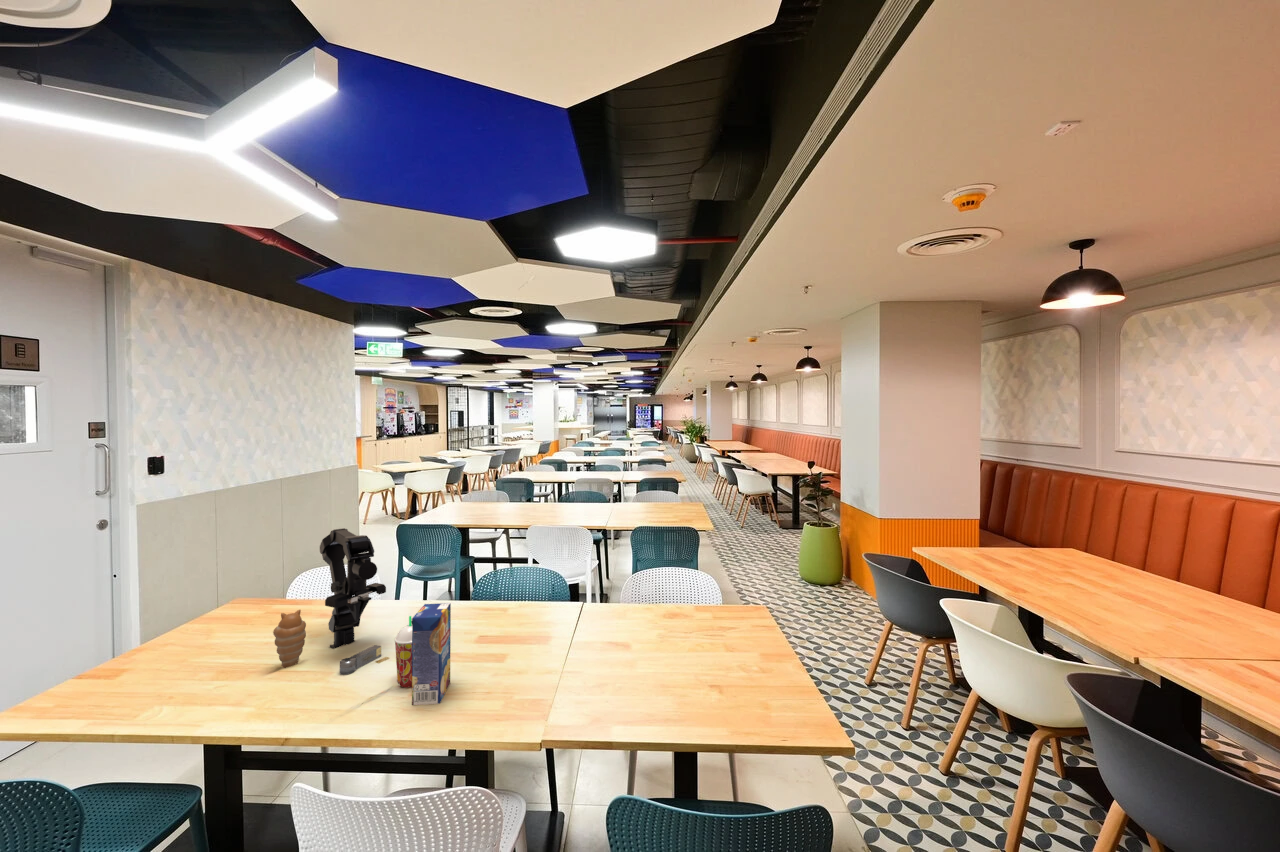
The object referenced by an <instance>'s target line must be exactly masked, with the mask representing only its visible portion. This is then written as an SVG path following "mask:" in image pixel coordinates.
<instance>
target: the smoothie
mask: <svg viewBox="0 0 1280 852" xmlns="http://www.w3.org/2000/svg"><path fill="white" fill-rule="evenodd" d="M411 619H412V615H408V625H406V626H404V627H402V628H401V629H400V630H399V631H398V632H397V635H396V637H395V638H394V643H395V644H394V645H395V660H396V665H395V666H396V678H397V683H398V684H399V687H401V688H412V623H411Z"/></svg>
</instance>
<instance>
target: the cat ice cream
mask: <svg viewBox="0 0 1280 852" xmlns="http://www.w3.org/2000/svg"><path fill="white" fill-rule="evenodd" d="M301 611H302V610H301V609H298V610H296V611H294V612H291V613H288V614H287V613H284V612H281V613H280V617H281V618H280V621H279V622H278V625H277V626H276V627H275V628H274V629H273V631H272V633H273V636H274V645H275V646H276V653H277V654H278V660H279V661H280V662H281V666H282V667H283V668H285V669H287V668H290V667H293V666H296V665H298V663H299V660H300V656H301V655H302V653H303V650H304V647H305V641H306V640H305V638H306V636H307V632H306V627H307V623H306V621H305V620H303V619H302V617H301V613H302V612H301Z"/></svg>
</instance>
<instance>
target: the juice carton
mask: <svg viewBox="0 0 1280 852" xmlns="http://www.w3.org/2000/svg"><path fill="white" fill-rule="evenodd" d="M451 607H452V605H451V602H446V603H445V602H444V603H424V604H423V606H422V607H421V608H420V609H419V610H418V611H417V612H416V613H415V614H414V615H413V617H411V619H412V623H411V625H412V687H411V706H419V705H420V706H421V705H439V704H441V702H442V700H443V698H444V696H445V695H446V692H447V691H448V688H449V687H450V685H451V635H452V634H451V633H452V632H451V629H452V626H451V624H452V623H451V621H452V620H451V617H452V616H451V612H452V611H451V610H452V609H451Z"/></svg>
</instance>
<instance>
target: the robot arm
mask: <svg viewBox="0 0 1280 852" xmlns="http://www.w3.org/2000/svg"><path fill="white" fill-rule="evenodd" d="M319 553H320V555H322V556H321V557H322V560H323V561H324V562H325V563H326V564H327V565H328V566H329V570H330V576H331V583H330V592H331V593H333V594H334V595H330V596H327V597H326V599H325V601H324V606H326V607H329V608H333V609H332V611H331V616H330V619H329V621H328V623H327V624H328V625H327V626H328V630H329V631H330V632H331V633H332V634H333V644H330V645H329V648H332V649H338V648H341V647H343V646H346V645H350V644H353V643H355V628H356V627H357V628H358V627H359V626H360V623H361V616H362V614H363V613H364V610H365V608H366V607H367V605H368V604H369V602H370V601H371V600H372V597H371V596H369V595H370V594H374V593H376V594H377V595H382V594H386V593H387V587H386V586H387V585H385V584H384V583H378V582H374V583H370V584H367V581H368V580H371V579H373V578H375V576H376V575H377V572H378V567H377V564H375V562H373V561H372V557H373V558H374V557H375V554H374V553H375V549H374V546H373V543H372V541H371V539H370V538H369V536H368V535H365V534H362V535H360V534H359V535H356V534H354V533H352V532H351V531H349V530H348V529H347V528H336V529H333V530H331V531H330V533H329V534H328V535H326V536H325V537H323V538H322V540H321V542H320V544H319ZM345 557H346V561H347V562H346V563H347V565H346V566H345V562H344V559H345ZM346 567H347V569H346Z"/></svg>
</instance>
